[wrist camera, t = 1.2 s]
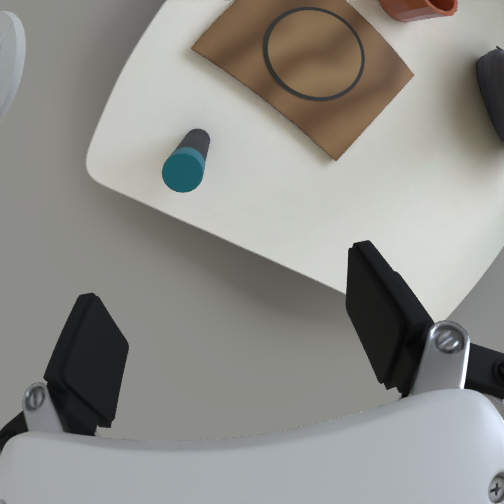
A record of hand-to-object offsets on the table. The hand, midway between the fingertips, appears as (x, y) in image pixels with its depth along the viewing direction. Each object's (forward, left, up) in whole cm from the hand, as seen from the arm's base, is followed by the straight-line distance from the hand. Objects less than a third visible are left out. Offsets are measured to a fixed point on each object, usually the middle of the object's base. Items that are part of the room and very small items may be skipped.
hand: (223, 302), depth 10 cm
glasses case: (+22, +33, -20) cm, 45 cm away
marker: (-3, 0, -20) cm, 20 cm away
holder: (+2, +27, -20) cm, 34 cm away
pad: (0, +14, -20) cm, 24 cm away
